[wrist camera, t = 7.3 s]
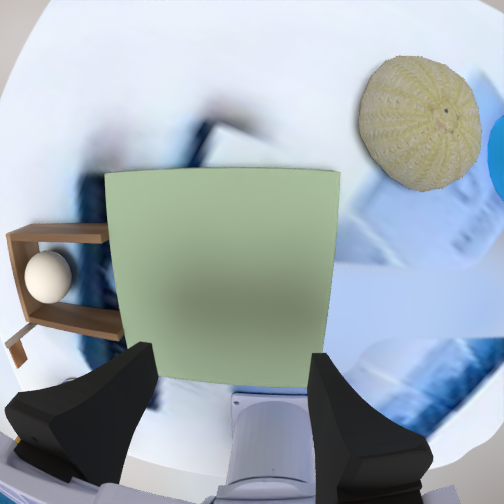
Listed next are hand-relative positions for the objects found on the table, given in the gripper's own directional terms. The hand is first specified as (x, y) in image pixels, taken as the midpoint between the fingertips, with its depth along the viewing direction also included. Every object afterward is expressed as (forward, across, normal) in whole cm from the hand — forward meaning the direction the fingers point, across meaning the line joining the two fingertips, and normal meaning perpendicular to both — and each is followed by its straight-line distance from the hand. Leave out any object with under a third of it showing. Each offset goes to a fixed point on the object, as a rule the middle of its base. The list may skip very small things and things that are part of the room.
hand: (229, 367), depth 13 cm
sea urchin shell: (+10, -12, -12) cm, 20 cm away
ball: (+8, +17, 0) cm, 18 cm away
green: (+10, +2, 0) cm, 10 cm away
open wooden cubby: (+10, +15, +1) cm, 18 cm away
